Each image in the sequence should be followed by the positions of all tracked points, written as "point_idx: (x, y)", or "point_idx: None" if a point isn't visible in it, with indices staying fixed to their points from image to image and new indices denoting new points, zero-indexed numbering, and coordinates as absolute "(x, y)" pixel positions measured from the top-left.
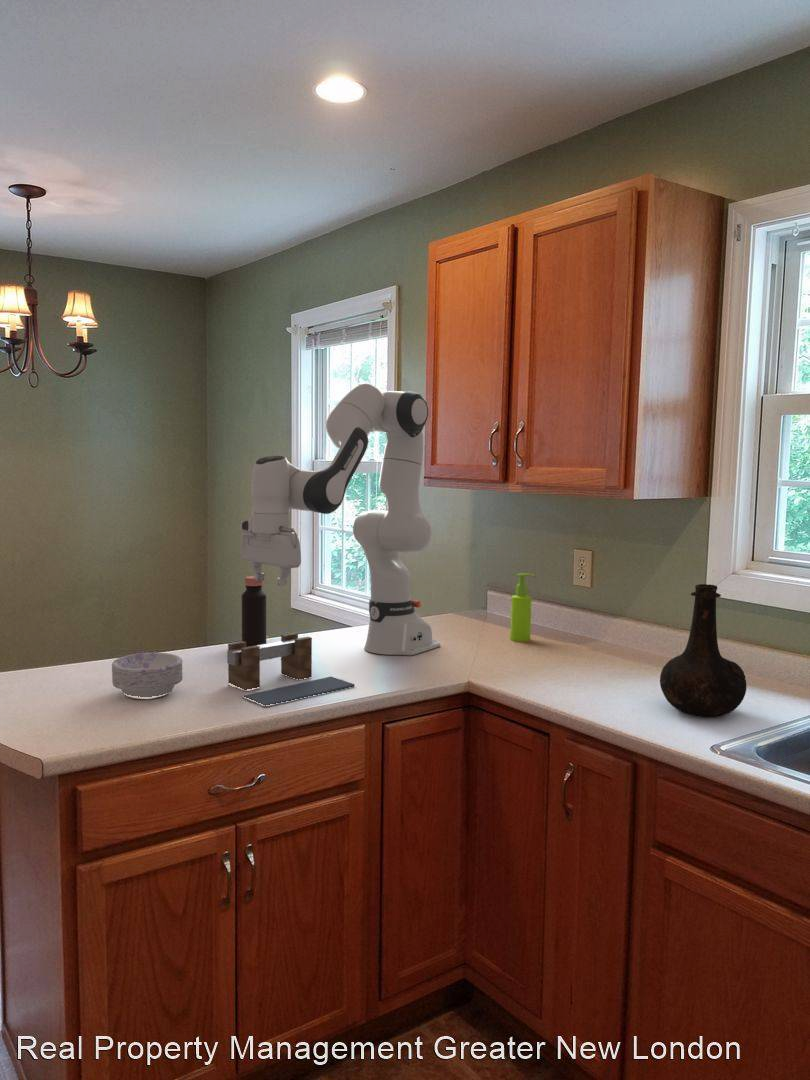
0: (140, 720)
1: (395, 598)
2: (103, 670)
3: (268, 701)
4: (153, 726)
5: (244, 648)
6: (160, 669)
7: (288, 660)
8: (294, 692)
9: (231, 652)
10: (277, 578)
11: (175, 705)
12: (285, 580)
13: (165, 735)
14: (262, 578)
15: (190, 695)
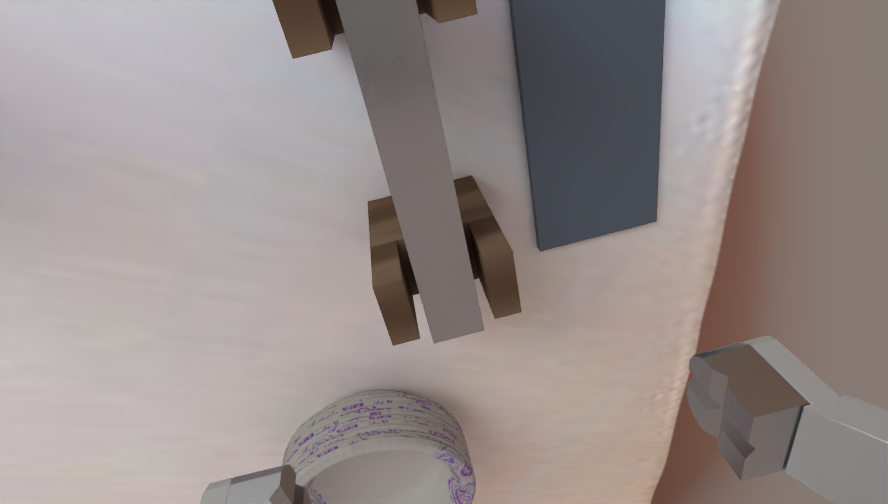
0: (556, 444)
1: None
2: (84, 496)
3: (635, 204)
4: (605, 429)
5: (508, 310)
6: (474, 482)
7: None
8: (607, 97)
9: (464, 333)
10: (743, 473)
11: (499, 388)
12: (807, 387)
13: (665, 417)
14: (292, 496)
15: (436, 352)
